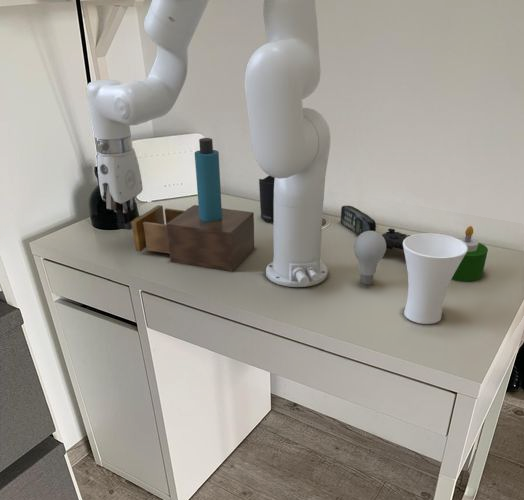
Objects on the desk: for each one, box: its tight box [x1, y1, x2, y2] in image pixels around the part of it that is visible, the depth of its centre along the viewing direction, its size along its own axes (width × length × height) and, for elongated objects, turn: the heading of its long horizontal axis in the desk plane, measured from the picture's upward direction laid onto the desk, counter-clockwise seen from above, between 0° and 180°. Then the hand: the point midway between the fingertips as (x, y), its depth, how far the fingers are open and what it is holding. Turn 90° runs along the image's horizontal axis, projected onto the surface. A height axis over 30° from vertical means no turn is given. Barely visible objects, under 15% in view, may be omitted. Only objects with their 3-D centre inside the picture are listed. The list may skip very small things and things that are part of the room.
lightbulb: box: [353, 231, 387, 286], centre depth 106 cm, size 6×6×11 cm
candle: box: [451, 225, 489, 282], centre depth 110 cm, size 8×8×10 cm
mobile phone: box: [340, 205, 377, 237], centre depth 130 cm, size 5×3×15 cm
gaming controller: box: [381, 228, 412, 251], centre depth 118 cm, size 14×6×10 cm
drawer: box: [125, 204, 185, 255], centre depth 122 cm, size 17×11×7 cm, turn 69°
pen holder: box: [258, 175, 275, 224], centre depth 138 cm, size 9×9×10 cm
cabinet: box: [167, 204, 255, 272], centre depth 119 cm, size 15×13×9 cm
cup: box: [403, 232, 468, 325], centre depth 95 cm, size 10×10×14 cm
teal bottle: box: [194, 137, 223, 222], centre depth 112 cm, size 5×5×16 cm
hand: (126, 227), depth 126 cm, fingers closed
